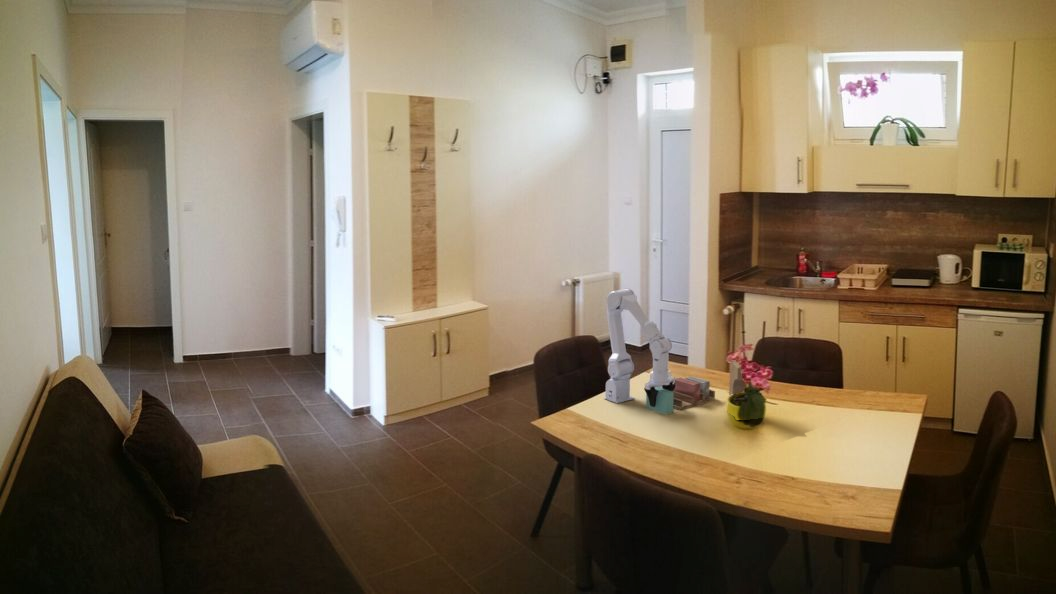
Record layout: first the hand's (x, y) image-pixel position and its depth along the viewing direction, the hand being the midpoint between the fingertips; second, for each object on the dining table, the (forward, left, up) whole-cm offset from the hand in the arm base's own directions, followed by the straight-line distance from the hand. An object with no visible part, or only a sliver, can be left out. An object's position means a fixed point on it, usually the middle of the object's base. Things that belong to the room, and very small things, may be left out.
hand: (659, 404), depth 271 cm
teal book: (0, 0, -2) cm, 2 cm away
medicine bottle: (+21, +19, -2) cm, 28 cm away
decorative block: (+18, -23, -2) cm, 29 cm away
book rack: (+16, +1, -2) cm, 16 cm away
